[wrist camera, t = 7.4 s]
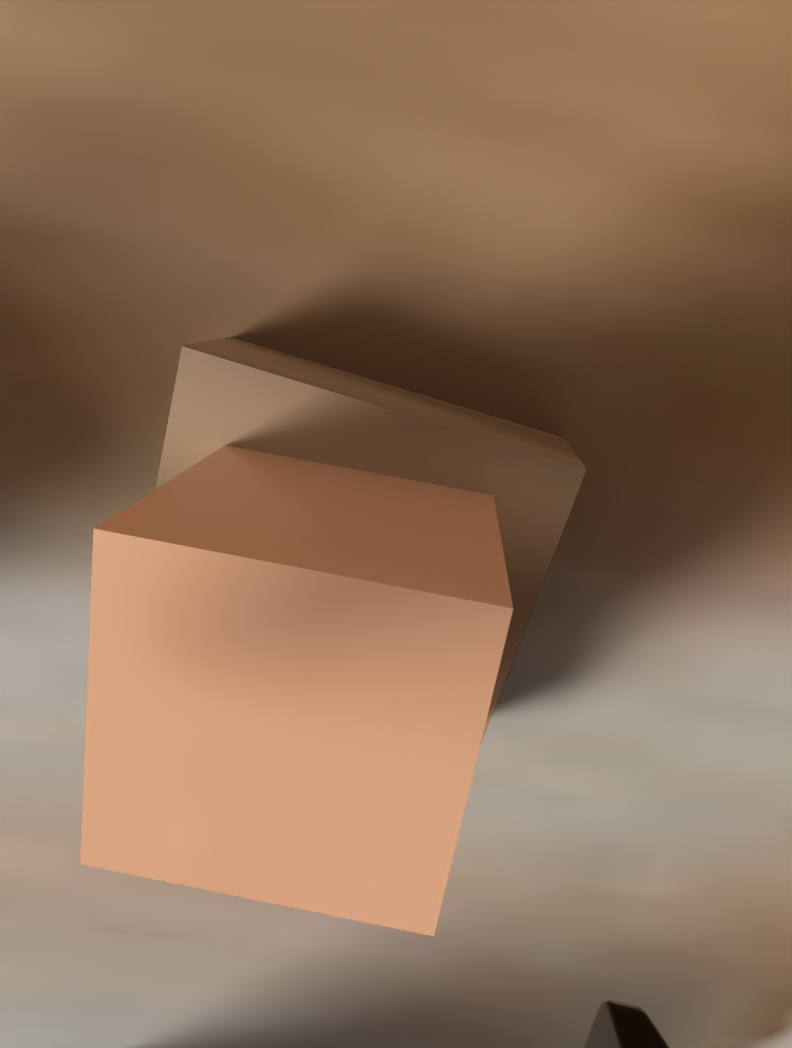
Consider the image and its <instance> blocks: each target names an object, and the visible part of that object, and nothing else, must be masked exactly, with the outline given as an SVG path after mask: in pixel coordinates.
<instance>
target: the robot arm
mask: <svg viewBox="0 0 792 1048" xmlns="http://www.w3.org/2000/svg"><path fill="white" fill-rule="evenodd" d="M584 1048H670V1047H669V1046H668V1044H667V1043H666V1041H665V1040H664V1038H663V1037H662V1035H661V1034H660V1032H659V1031H658V1029H657V1028H656V1027H655V1025H654V1024H653V1022H652V1021H651V1019H650V1018H649V1016H648V1015H647V1014H646V1013H645V1012H644V1011H643V1010H642V1009H641V1008H640V1007H638V1006H635V1005H630V1004H626V1003H621V1002H616V1001H612V1000H606V1001H604V1002H603V1003H602V1004H601V1005H600V1007H599V1009H598V1012H597V1014H596V1017H595V1020H594V1022H593V1025H592V1028H591V1031H590V1033H589V1036H588V1039H587V1041H586V1044H585V1047H584Z"/></svg>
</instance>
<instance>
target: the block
mask: <svg viewBox="0 0 792 1048" xmlns="http://www.w3.org/2000/svg"><path fill="white" fill-rule="evenodd" d="M224 445H227V446H232V447H238V448H243V449H249V450H254V451H259V452H265V453H270V454H275V455H281V456H286V457H292V458H297V459H302V460H308V461H313V462H318V463H324V464H329V465H334V466H340V467H345V468H351V469H356V470H361V471H367V472H372V473H377V474H383V475H388V476H394V477H399V478H404V479H410V480H415V481H420V482H426V483H431V484H436V485H442V486H447V487H453V488H458V489H463V490H469V491H474V492H479V493H485V494H490V495H494V500H495V506H496V512H497V518H498V523H499V529H500V535H501V541H502V546H503V552H504V558H505V564H506V569H507V575H508V581H509V586H510V592H511V598H512V604H513V612H512V616H511V620H510V624H509V629H508V633H507V637H506V641H505V645H504V649H503V653H502V657H501V662H500V666H499V670H498V674H497V678H496V682H495V686H494V690H493V695H492V699H491V703H490V707H489V711H488V715H487V719H486V723H485V728H484V732H483V736H482V740H483V737H484V735H485V732H486V729H487V727H488V724H489V722H490V719H491V716H492V714H493V711H494V709H495V706H496V704H497V701H498V698H499V696H500V693H501V691H502V688H503V685H504V683H505V680H506V678H507V675H508V672H509V670H510V667H511V665H512V662H513V659H514V657H515V654H516V652H517V649H518V646H519V644H520V641H521V639H522V636H523V634H524V631H525V628H526V626H527V623H528V621H529V618H530V615H531V613H532V610H533V608H534V605H535V602H536V600H537V597H538V595H539V592H540V589H541V587H542V584H543V582H544V579H545V576H546V574H547V571H548V569H549V566H550V564H551V561H552V558H553V556H554V553H555V551H556V548H557V545H558V543H559V540H560V538H561V535H562V532H563V530H564V527H565V525H566V522H567V519H568V517H569V514H570V512H571V509H572V506H573V504H574V501H575V499H576V496H577V494H578V491H579V488H580V486H581V483H582V481H583V478H584V475H585V473H586V470H587V468H586V467H585V466H584V464H583V463H582V462H581V460H580V459H579V458H578V456H577V455H576V454H575V452H574V451H573V449H572V448H571V447H570V445H569V444H568V443H567V441H566V440H565V439H564V437H560V436H557V435H554V434H550V433H547V432H544V431H541V430H537V429H534V428H531V427H527V426H524V425H521V424H518V423H514V422H511V421H508V420H504V419H501V418H498V417H494V416H491V415H488V414H485V413H481V412H478V411H475V410H471V409H468V408H465V407H462V406H458V405H455V404H452V403H448V402H445V401H442V400H438V399H435V398H432V397H429V396H425V395H422V394H419V393H415V392H412V391H409V390H406V389H402V388H399V387H396V386H392V385H389V384H386V383H382V382H379V381H376V380H373V379H369V378H366V377H363V376H359V375H356V374H353V373H349V372H346V371H343V370H340V369H336V368H333V367H330V366H326V365H323V364H320V363H317V362H313V361H310V360H307V359H303V358H300V357H297V356H293V355H290V354H287V353H284V352H280V351H277V350H274V349H270V348H267V347H264V346H261V345H257V344H254V343H251V342H247V341H244V340H241V339H237V338H234V337H230V338H225V339H219V340H214V341H208V342H202V343H197V344H191V345H186V346H182V348H181V354H180V359H179V364H178V370H177V375H176V381H175V386H174V391H173V397H172V402H171V407H170V413H169V418H168V423H167V429H166V434H165V439H164V445H163V450H162V456H161V461H160V466H159V472H158V477H157V482H156V488H155V489H157V488H158V487H160V486H161V485H163V484H164V483H166V482H168V481H169V480H171V479H172V478H174V477H175V476H177V475H179V474H180V473H182V472H183V471H185V470H187V469H188V468H190V467H191V466H193V465H194V464H196V463H198V462H199V461H201V460H202V459H204V458H205V457H207V456H209V455H210V454H212V453H213V452H215V451H216V450H218V449H220V448H221V447H223V446H224ZM482 740H481V742H482ZM480 745H481V744H480Z"/></svg>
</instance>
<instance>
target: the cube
mask: <svg viewBox="0 0 792 1048" xmlns="http://www.w3.org/2000/svg"><path fill="white" fill-rule="evenodd" d="M512 612H513V604H512V598H511V592H510V586H509V581H508V575H507V569H506V564H505V558H504V552H503V546H502V541H501V535H500V529H499V523H498V518H497V512H496V506H495V500H494V495H490V494H485V493H479V492H474V491H469V490H463V489H458V488H453V487H447V486H442V485H436V484H431V483H426V482H420V481H415V480H410V479H404V478H399V477H394V476H388V475H383V474H377V473H372V472H367V471H361V470H356V469H351V468H345V467H340V466H334V465H329V464H324V463H318V462H313V461H308V460H302V459H297V458H292V457H286V456H281V455H275V454H270V453H265V452H259V451H254V450H249V449H243V448H238V447H232V446H227V445H224V446H223V447H221V448H220V449H218V450H216V451H215V452H213V453H212V454H210V455H209V456H207V457H205V458H204V459H202V460H201V461H199V462H198V463H196V464H194V465H193V466H191V467H190V468H188V469H187V470H185V471H183V472H182V473H180V474H179V475H177V476H175V477H174V478H172V479H171V480H169V481H168V482H166V483H164V484H163V485H161V486H160V487H158V488H157V489H155V490H153V491H152V492H150V493H149V494H147V495H146V496H144V497H142V498H141V499H139V500H138V501H136V502H134V503H133V504H131V505H130V506H128V507H127V508H125V509H123V510H122V511H120V512H119V513H117V514H116V515H114V516H112V517H111V518H109V519H108V520H106V521H105V522H103V523H101V524H100V525H98V526H97V527H95V528H94V529H93V552H92V578H91V603H90V628H89V654H88V679H87V705H86V730H85V756H84V781H83V806H82V832H81V857H80V864H82V865H86V866H91V867H96V868H101V869H106V870H111V871H116V872H121V873H126V874H131V875H135V876H140V877H145V878H150V879H155V880H160V881H165V882H170V883H175V884H180V885H184V886H189V887H194V888H199V889H204V890H209V891H214V892H219V893H224V894H229V895H234V896H238V897H243V898H248V899H253V900H258V901H263V902H268V903H273V904H278V905H283V906H287V907H292V908H297V909H302V910H307V911H312V912H317V913H322V914H327V915H332V916H336V917H341V918H346V919H351V920H356V921H361V922H366V923H371V924H376V925H381V926H386V927H390V928H395V929H400V930H405V931H410V932H415V933H420V934H425V935H430V936H434V934H435V930H436V926H437V922H438V917H439V913H440V909H441V905H442V901H443V897H444V893H445V889H446V884H447V880H448V876H449V872H450V868H451V864H452V860H453V856H454V851H455V847H456V843H457V839H458V835H459V831H460V827H461V823H462V818H463V814H464V810H465V806H466V802H467V798H468V794H469V790H470V785H471V781H472V777H473V773H474V769H475V765H476V761H477V757H478V752H479V748H480V744H481V740H482V736H483V732H484V728H485V723H486V719H487V715H488V711H489V707H490V703H491V699H492V695H493V690H494V686H495V682H496V678H497V674H498V670H499V666H500V662H501V657H502V653H503V649H504V645H505V641H506V637H507V633H508V629H509V624H510V620H511V616H512Z"/></svg>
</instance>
